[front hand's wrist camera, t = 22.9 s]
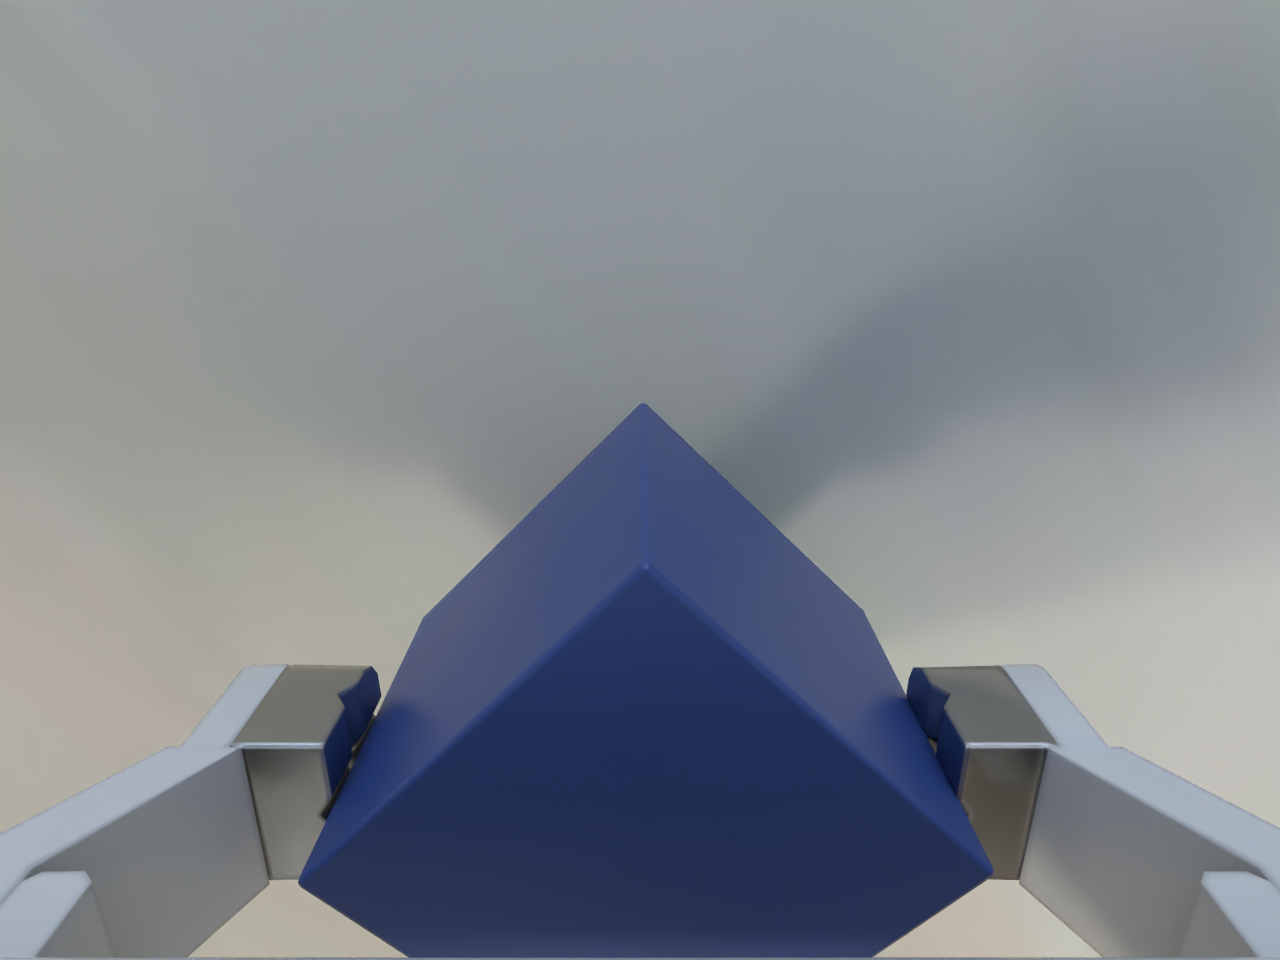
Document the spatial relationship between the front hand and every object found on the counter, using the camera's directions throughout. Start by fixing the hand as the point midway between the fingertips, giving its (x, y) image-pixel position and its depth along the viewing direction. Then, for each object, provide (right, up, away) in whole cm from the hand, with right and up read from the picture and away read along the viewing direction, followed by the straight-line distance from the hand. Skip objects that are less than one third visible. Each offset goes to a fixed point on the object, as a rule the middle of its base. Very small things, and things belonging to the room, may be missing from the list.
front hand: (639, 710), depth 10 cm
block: (0, +1, +2) cm, 2 cm away
